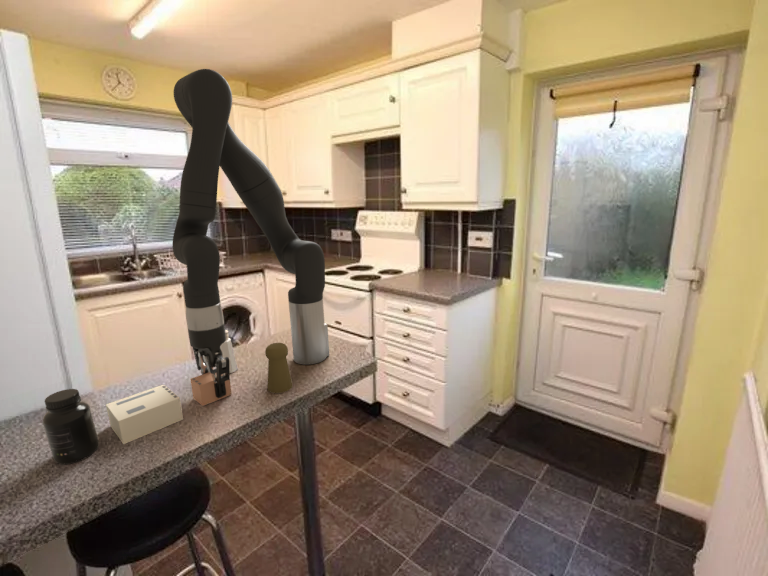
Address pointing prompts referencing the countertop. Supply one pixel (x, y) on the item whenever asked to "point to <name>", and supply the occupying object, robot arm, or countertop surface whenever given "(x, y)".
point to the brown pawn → (278, 368)
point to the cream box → (144, 413)
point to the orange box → (206, 389)
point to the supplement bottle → (69, 427)
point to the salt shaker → (229, 353)
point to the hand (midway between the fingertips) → (215, 391)
